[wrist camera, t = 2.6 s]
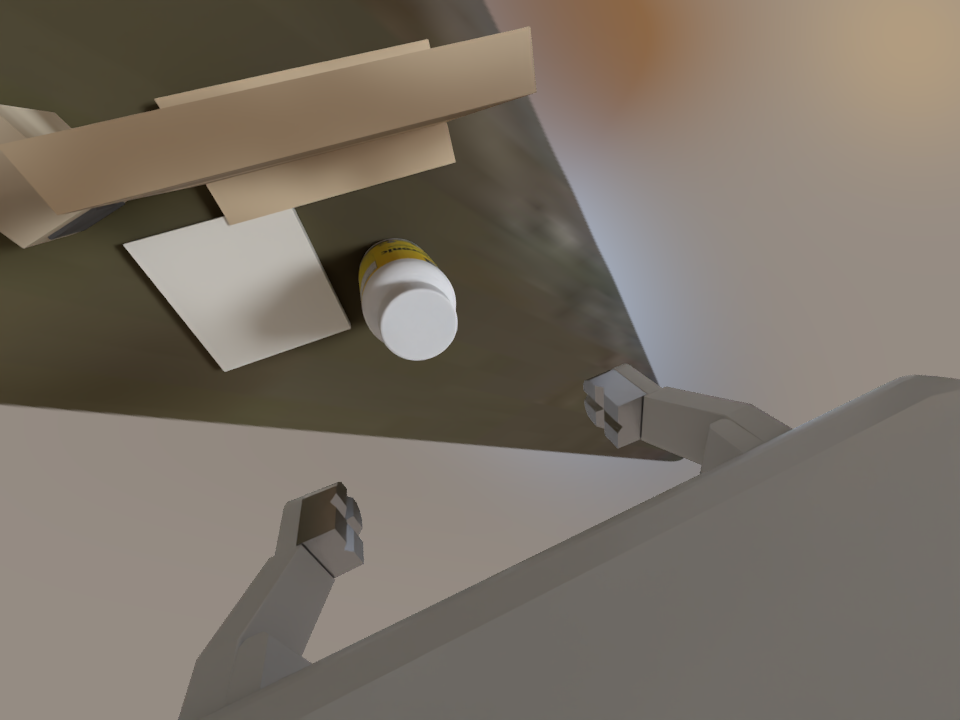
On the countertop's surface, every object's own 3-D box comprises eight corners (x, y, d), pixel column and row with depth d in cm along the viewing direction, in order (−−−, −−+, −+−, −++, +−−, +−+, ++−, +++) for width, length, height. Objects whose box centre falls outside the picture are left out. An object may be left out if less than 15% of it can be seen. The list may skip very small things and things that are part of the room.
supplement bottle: (444, 255, 26) (489, 300, 18) (415, 318, 28) (444, 384, 20) (373, 222, 23) (389, 256, 15) (346, 293, 25) (348, 358, 17)
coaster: (129, 241, 20) (122, 244, 19) (289, 197, 21) (287, 199, 20) (227, 366, 25) (224, 372, 24) (350, 324, 26) (350, 328, 26)
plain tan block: (-15, 158, 17) (-102, 158, 13) (55, 112, 17) (-15, 102, 13) (81, 235, 19) (27, 251, 16) (142, 195, 19) (101, 203, 16)
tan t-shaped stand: (162, 101, 17) (-113, 19, 7) (424, 43, 20) (519, -86, 9) (234, 222, 21) (123, 291, 10) (451, 161, 23) (543, 167, 12)
